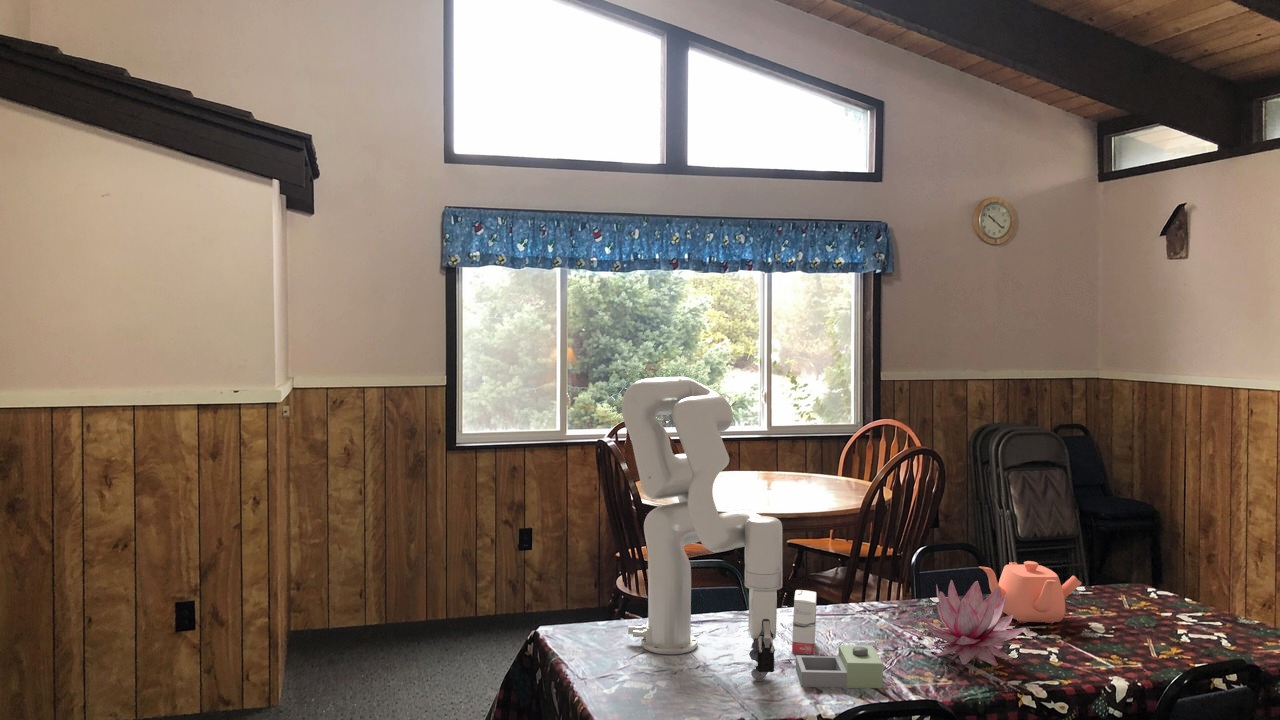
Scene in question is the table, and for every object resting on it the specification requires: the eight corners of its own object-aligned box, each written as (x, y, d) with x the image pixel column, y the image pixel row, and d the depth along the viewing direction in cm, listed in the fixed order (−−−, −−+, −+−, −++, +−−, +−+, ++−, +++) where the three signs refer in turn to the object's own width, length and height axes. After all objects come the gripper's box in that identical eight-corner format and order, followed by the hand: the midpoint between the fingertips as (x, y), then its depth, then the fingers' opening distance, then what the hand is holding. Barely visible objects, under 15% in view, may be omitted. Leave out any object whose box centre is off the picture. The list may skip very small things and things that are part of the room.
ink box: (815, 655, 202) (816, 601, 201) (791, 653, 203) (792, 600, 202) (815, 642, 210) (816, 590, 210) (793, 640, 211) (794, 588, 211)
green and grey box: (801, 686, 185) (801, 657, 184) (795, 667, 195) (795, 639, 194) (882, 688, 184) (883, 658, 184) (872, 669, 194) (872, 640, 194)
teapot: (1053, 636, 215) (1055, 577, 214) (977, 617, 228) (978, 562, 227) (1083, 618, 228) (1084, 562, 227) (1008, 601, 241) (1010, 549, 240)
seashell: (746, 675, 190) (747, 627, 190) (772, 674, 191) (772, 626, 190) (751, 685, 185) (752, 636, 185) (778, 685, 186) (779, 635, 185)
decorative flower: (946, 633, 216) (947, 569, 216) (1039, 657, 201) (1040, 589, 200) (899, 656, 201) (900, 588, 201) (995, 685, 186) (996, 610, 185)
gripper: (741, 567, 196) (741, 647, 196) (748, 591, 179) (748, 678, 179) (777, 567, 196) (777, 648, 196) (787, 591, 178) (787, 679, 179)
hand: (763, 662), depth 188 cm, fingers open, 9 cm apart
